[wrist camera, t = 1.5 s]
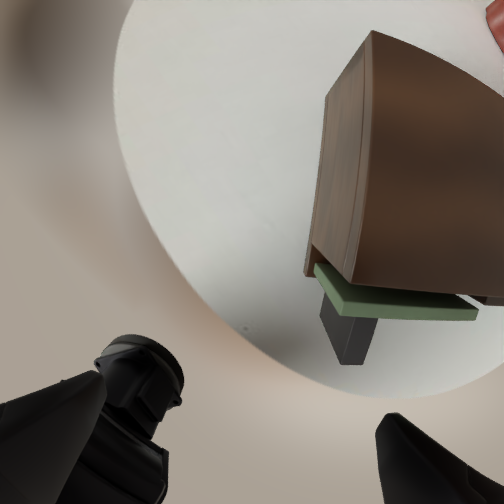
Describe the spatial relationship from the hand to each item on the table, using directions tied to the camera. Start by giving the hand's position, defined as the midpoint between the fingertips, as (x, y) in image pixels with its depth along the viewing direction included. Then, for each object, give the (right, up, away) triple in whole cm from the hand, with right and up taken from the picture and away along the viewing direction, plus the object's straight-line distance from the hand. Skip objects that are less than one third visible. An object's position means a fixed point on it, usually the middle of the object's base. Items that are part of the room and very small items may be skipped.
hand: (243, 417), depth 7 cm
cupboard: (+13, +8, +10) cm, 19 cm away
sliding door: (+8, +2, +10) cm, 13 cm away
